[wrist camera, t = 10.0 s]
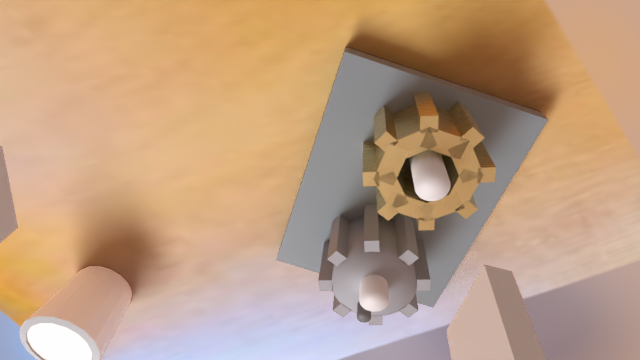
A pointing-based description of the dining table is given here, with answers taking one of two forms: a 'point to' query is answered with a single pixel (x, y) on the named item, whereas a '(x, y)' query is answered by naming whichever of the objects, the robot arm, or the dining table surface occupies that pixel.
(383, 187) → the brass gear
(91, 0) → the dining table surface
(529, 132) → the gear board
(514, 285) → the robot arm
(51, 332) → the beige cup
